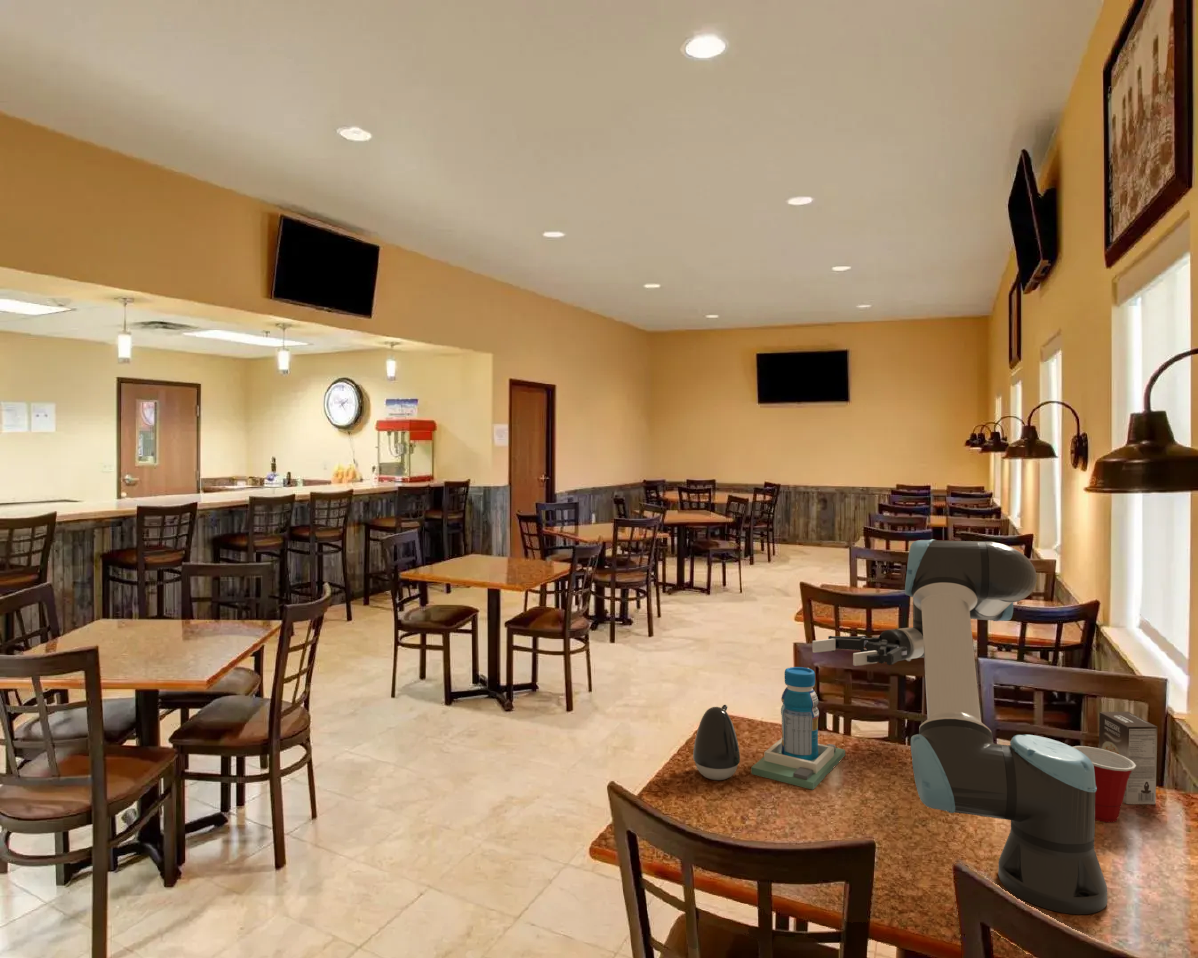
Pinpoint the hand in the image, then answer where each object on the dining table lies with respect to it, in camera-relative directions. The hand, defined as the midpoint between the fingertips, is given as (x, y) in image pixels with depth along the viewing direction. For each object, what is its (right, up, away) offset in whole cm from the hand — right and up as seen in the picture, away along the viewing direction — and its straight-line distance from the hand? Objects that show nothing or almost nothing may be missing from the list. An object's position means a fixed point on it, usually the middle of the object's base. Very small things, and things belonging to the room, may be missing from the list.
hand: (833, 652), depth 174 cm
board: (-9, -25, -4) cm, 27 cm away
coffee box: (+55, -25, -20) cm, 63 cm away
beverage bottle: (-9, -23, -4) cm, 25 cm away
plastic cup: (+43, -25, -29) cm, 58 cm away
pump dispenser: (-29, -25, -9) cm, 39 cm away
